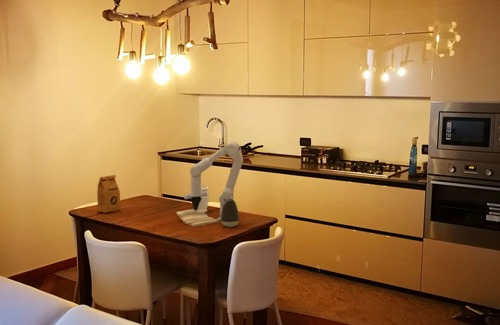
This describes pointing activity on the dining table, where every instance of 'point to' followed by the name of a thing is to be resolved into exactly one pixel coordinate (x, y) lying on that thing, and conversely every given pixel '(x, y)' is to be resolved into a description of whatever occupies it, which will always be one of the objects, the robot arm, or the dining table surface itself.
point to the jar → (204, 198)
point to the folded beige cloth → (202, 221)
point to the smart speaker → (229, 213)
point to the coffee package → (108, 195)
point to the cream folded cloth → (191, 214)
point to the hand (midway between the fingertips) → (195, 209)
